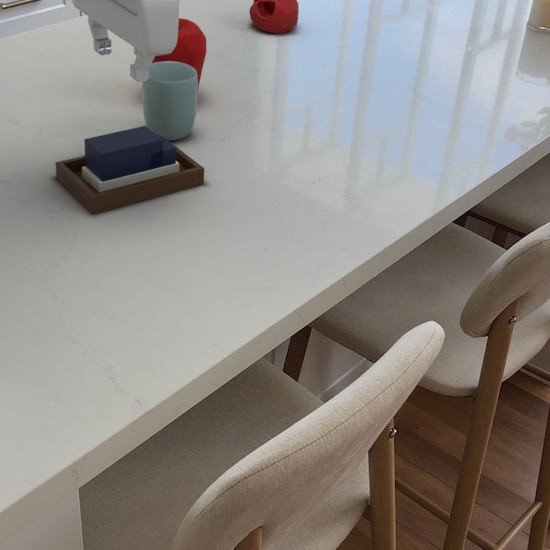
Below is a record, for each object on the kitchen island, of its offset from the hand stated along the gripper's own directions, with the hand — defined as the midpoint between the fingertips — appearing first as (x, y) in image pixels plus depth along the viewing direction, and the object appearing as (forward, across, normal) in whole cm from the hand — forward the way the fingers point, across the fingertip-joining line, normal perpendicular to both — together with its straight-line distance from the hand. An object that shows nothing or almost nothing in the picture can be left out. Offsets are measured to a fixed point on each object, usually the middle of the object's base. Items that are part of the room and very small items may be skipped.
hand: (120, 66), depth 110 cm
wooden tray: (+16, 0, +1) cm, 16 cm away
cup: (+16, -10, +13) cm, 23 cm away
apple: (+16, -21, +20) cm, 33 cm away
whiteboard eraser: (+15, 0, +1) cm, 15 cm away
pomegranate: (+16, -42, +56) cm, 72 cm away
